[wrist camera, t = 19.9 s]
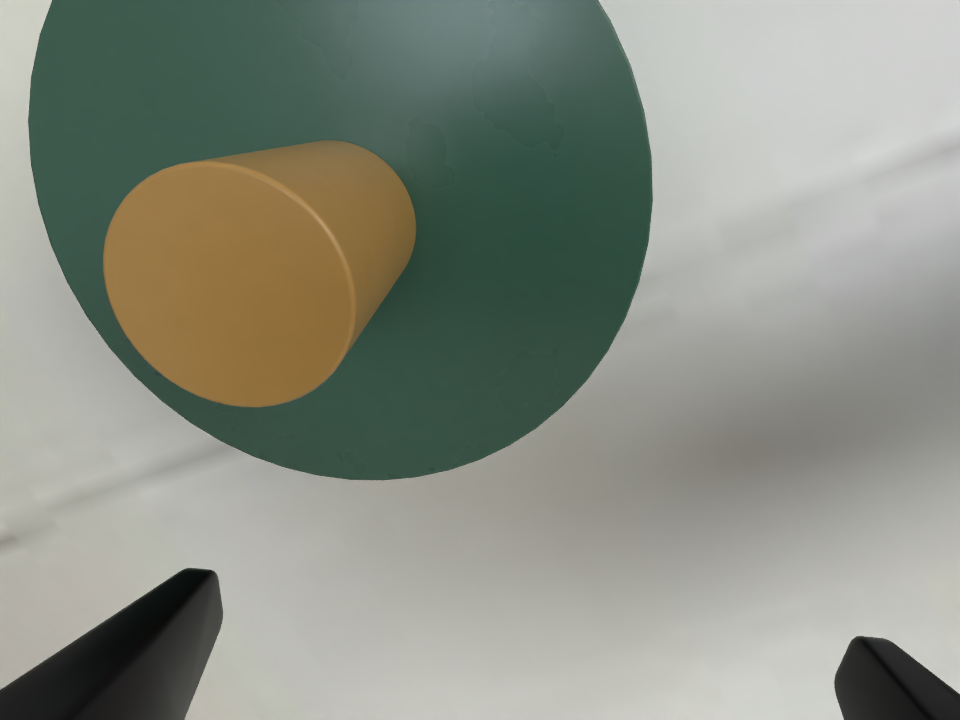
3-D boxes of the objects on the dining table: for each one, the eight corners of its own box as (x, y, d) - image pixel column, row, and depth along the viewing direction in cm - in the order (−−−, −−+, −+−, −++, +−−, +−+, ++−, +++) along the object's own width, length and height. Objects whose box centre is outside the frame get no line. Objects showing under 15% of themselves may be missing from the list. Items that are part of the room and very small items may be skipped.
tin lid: (600, -237, 10) (724, -727, 4) (665, 413, 14) (763, 609, 9) (-46, -42, 11) (-605, -192, 6) (204, 485, 16) (36, 690, 10)
